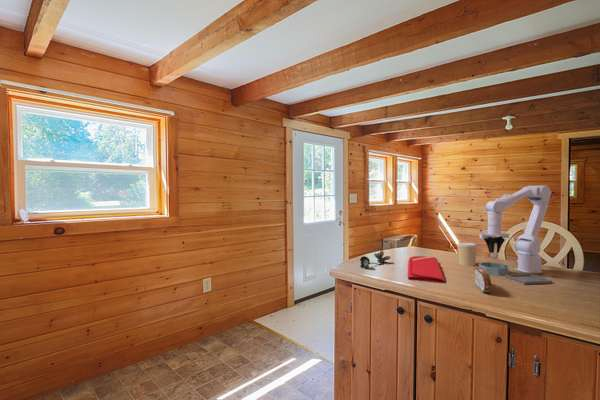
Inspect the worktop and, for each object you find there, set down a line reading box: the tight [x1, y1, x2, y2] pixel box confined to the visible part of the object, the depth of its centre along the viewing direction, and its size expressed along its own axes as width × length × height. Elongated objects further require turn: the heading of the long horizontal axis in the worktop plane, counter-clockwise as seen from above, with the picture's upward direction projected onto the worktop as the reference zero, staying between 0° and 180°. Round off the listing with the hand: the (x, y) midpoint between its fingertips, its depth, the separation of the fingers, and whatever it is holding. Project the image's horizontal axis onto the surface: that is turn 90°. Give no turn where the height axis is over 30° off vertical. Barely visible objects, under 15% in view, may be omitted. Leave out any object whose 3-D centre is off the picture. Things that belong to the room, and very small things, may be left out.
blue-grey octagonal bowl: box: [478, 261, 510, 277], centre depth 152 cm, size 12×12×4 cm
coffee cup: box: [457, 242, 478, 267], centre depth 167 cm, size 9×9×12 cm
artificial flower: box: [359, 249, 391, 270], centre depth 170 cm, size 9×22×10 cm, turn 128°
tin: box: [474, 267, 493, 294], centre depth 128 cm, size 15×3×8 cm, turn 164°
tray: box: [504, 273, 553, 286], centre depth 139 cm, size 13×11×2 cm
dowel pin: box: [490, 243, 498, 260], centre depth 152 cm, size 2×2×8 cm
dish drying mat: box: [407, 255, 445, 284], centre depth 158 cm, size 16×41×4 cm, turn 160°
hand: (494, 252), depth 152 cm, fingers closed on dowel pin, 2 cm apart
